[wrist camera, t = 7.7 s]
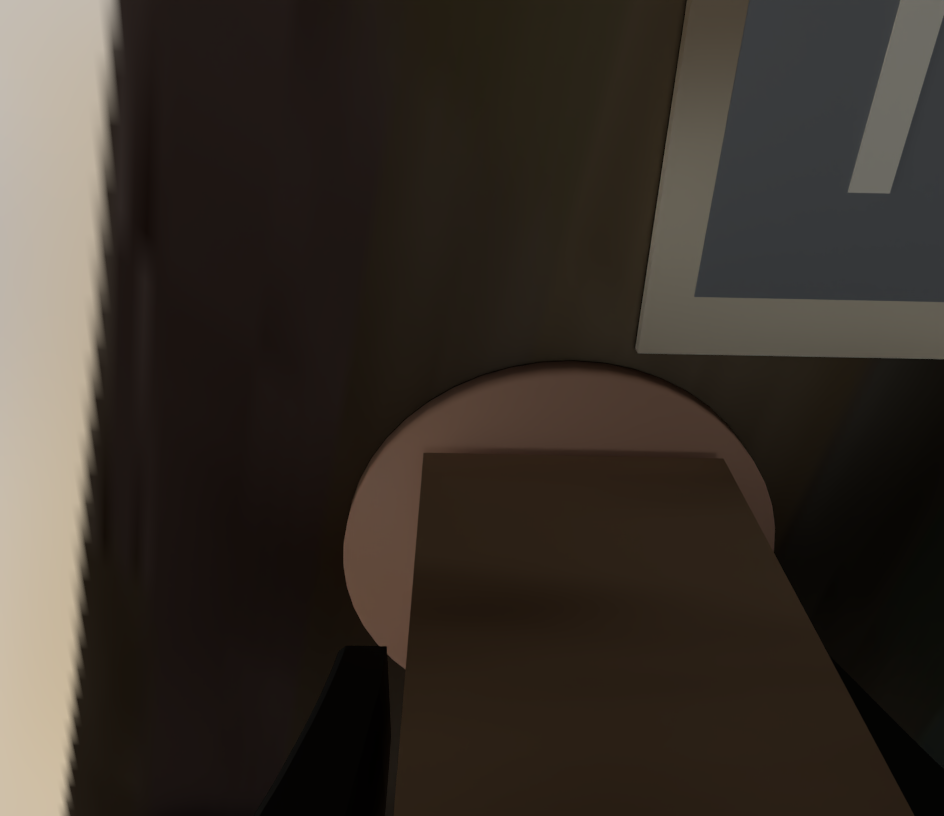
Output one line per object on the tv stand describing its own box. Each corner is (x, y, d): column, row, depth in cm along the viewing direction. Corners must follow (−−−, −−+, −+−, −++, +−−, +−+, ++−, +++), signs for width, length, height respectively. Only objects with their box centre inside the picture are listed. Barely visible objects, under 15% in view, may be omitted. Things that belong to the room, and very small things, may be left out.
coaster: (718, 689, 16) (727, 713, 15) (358, 686, 16) (355, 710, 15) (810, 365, 12) (826, 381, 11) (333, 356, 12) (327, 372, 11)
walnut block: (670, 657, 14) (783, 1033, 9) (424, 654, 14) (402, 1034, 9) (722, 458, 12) (921, 830, 7) (423, 452, 12) (392, 825, 7)
